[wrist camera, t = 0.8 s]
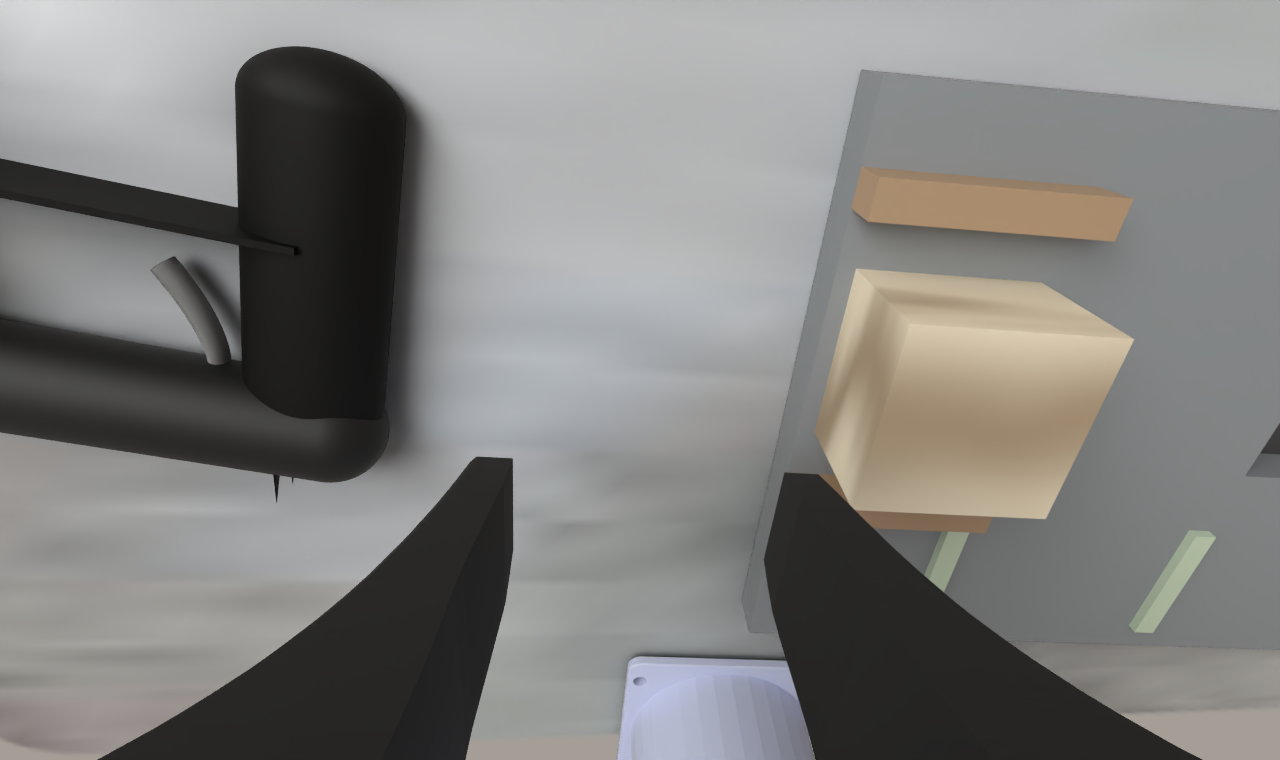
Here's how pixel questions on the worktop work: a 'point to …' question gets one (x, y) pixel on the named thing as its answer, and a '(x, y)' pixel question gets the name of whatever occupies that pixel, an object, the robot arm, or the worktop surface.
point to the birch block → (962, 393)
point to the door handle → (244, 291)
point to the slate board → (1113, 291)
